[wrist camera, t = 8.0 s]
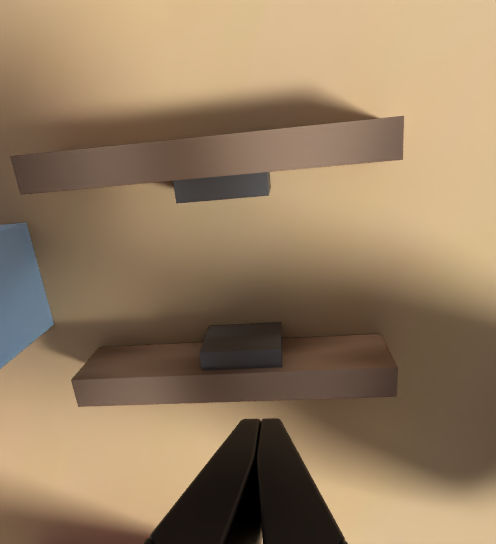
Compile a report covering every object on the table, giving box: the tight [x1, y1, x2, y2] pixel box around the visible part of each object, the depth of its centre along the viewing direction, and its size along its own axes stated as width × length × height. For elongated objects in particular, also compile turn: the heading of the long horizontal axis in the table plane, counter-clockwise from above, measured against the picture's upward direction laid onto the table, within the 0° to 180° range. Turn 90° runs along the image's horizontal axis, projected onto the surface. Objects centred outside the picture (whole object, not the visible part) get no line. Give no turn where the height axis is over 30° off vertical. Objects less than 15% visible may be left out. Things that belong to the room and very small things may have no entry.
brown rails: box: [10, 116, 404, 407], centre depth 15 cm, size 12×9×2 cm
